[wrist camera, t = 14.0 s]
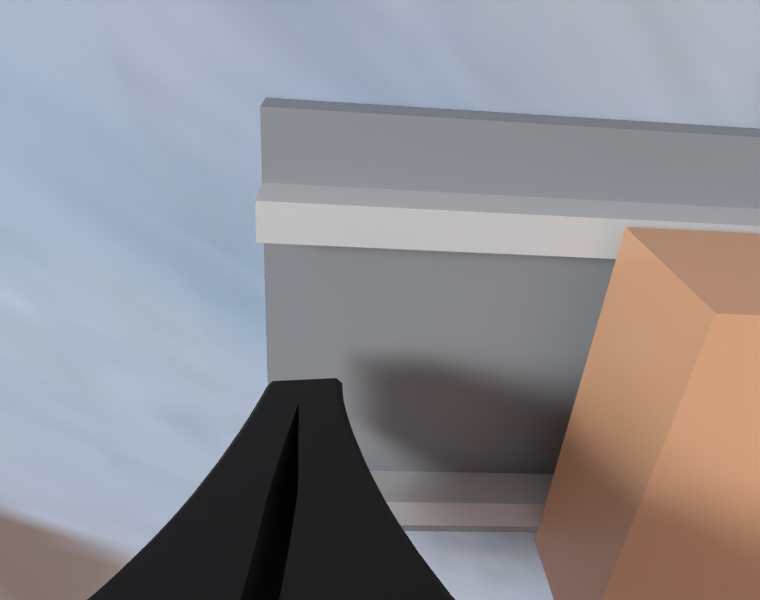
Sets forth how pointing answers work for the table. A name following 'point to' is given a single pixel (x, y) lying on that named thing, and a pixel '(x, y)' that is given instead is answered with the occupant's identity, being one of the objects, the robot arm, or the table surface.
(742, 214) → the rail holder
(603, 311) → the peach block
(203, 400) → the table surface
